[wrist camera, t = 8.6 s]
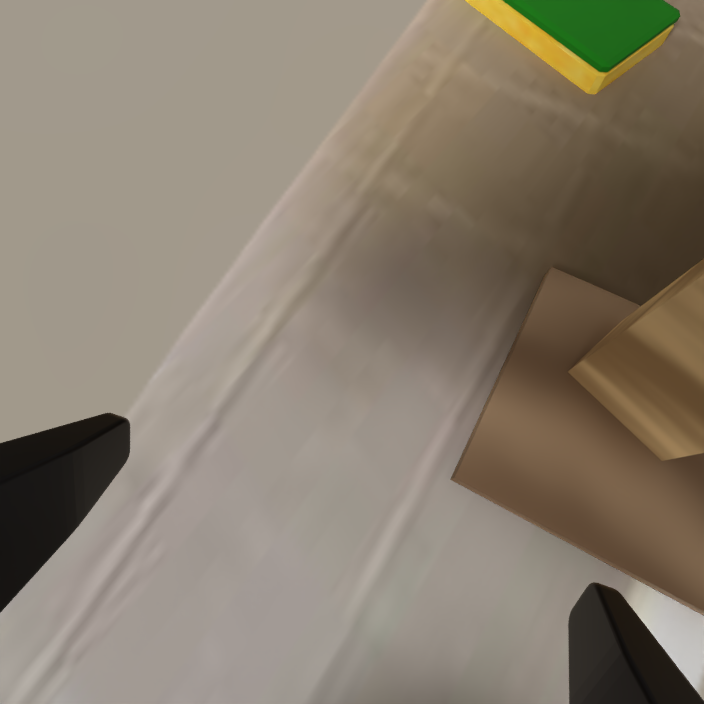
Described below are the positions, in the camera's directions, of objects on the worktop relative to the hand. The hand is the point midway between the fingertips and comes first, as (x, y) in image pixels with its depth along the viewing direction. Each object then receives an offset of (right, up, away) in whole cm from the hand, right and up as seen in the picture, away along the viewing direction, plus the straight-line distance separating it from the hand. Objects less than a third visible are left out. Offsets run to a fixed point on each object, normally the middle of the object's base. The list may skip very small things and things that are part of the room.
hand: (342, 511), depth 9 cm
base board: (+13, -1, +14) cm, 19 cm away
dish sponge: (+13, +26, +24) cm, 38 cm away
